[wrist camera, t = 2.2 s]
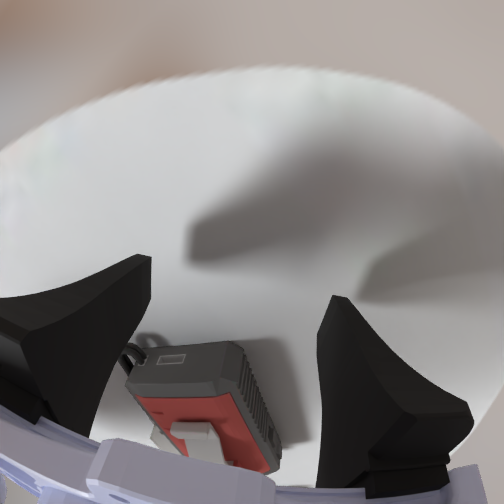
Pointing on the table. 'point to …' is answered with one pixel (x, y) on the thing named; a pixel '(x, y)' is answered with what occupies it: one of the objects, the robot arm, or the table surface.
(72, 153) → the table surface
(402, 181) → the table surface
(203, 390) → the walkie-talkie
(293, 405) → the table surface
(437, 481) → the robot arm
